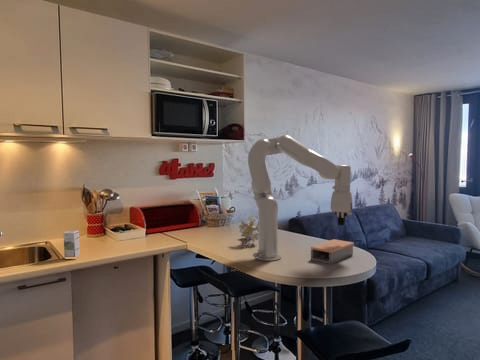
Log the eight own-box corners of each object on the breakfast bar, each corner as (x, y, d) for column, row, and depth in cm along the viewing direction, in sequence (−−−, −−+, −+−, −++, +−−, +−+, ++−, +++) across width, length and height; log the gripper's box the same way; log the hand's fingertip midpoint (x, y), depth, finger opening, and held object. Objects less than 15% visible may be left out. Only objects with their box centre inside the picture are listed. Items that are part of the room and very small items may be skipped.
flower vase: (243, 248, 216) (242, 248, 192) (237, 220, 220) (236, 216, 196) (263, 244, 217) (265, 243, 192) (256, 216, 221) (258, 212, 196)
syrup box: (80, 256, 180) (79, 229, 179) (75, 259, 174) (74, 232, 173) (69, 256, 180) (68, 230, 179) (64, 260, 174) (62, 232, 173)
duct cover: (331, 253, 158) (331, 250, 158) (310, 248, 166) (310, 246, 166) (353, 244, 173) (353, 242, 173) (333, 241, 181) (333, 239, 181)
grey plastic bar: (324, 259, 163) (324, 255, 163) (321, 258, 164) (321, 254, 164) (342, 251, 176) (342, 248, 176) (339, 251, 177) (339, 247, 177)
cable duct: (330, 264, 158) (330, 253, 158) (310, 259, 166) (310, 249, 166) (352, 254, 174) (352, 244, 174) (333, 250, 182) (333, 241, 181)
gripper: (325, 188, 173) (324, 223, 174) (352, 190, 163) (351, 228, 164) (332, 188, 179) (331, 222, 180) (359, 189, 168) (358, 226, 169)
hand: (341, 225), depth 172 cm, fingers closed
